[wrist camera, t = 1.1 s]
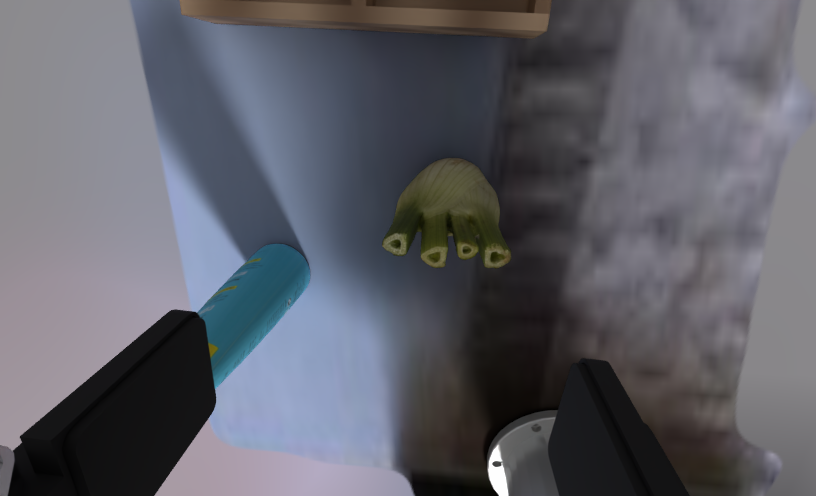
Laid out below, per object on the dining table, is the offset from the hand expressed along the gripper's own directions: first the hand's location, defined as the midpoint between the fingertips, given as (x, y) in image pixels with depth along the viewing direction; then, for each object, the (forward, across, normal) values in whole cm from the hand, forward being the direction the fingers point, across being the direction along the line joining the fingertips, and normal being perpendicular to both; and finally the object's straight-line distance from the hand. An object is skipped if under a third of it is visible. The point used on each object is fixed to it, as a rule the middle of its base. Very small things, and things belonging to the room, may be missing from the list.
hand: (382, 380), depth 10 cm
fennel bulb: (+20, -2, 0) cm, 21 cm away
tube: (+20, +11, +8) cm, 25 cm away
